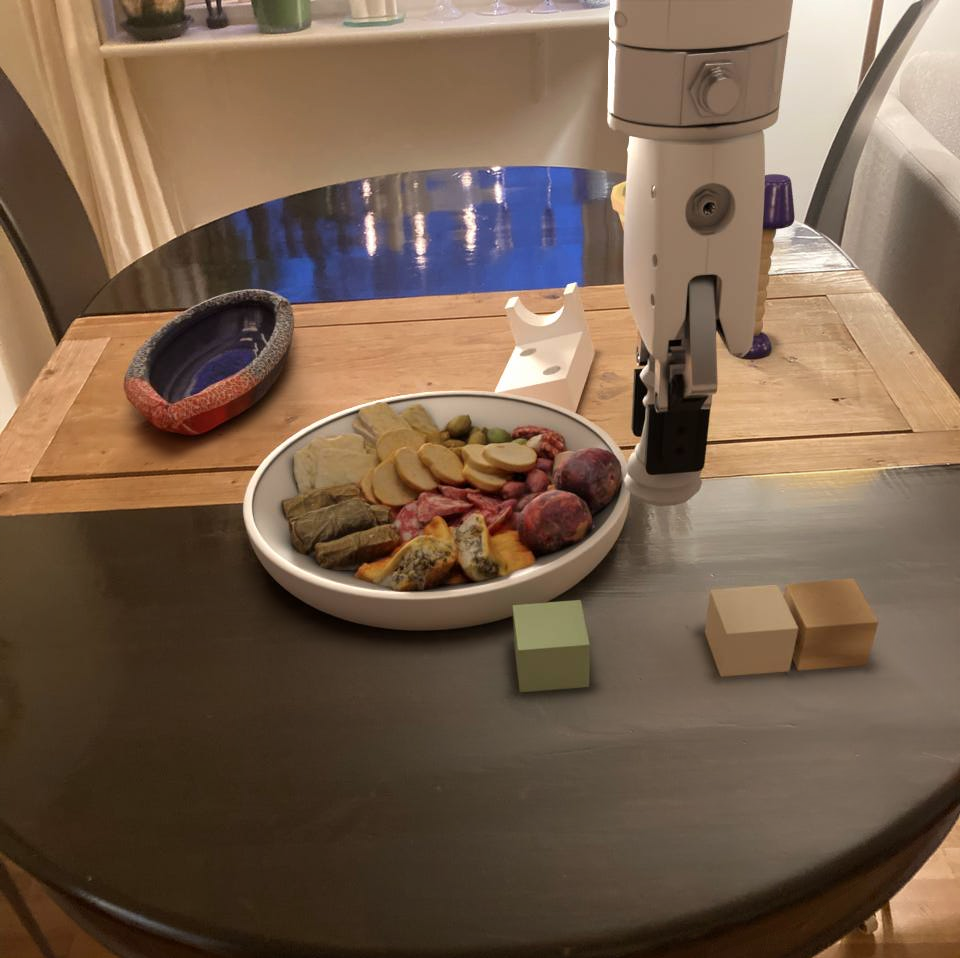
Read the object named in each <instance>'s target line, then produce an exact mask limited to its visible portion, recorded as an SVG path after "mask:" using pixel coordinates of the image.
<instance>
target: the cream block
mask: <svg viewBox="0 0 960 958" xmlns="http://www.w3.org/2000/svg"><path fill="white" fill-rule="evenodd" d="M706 611H707V612H706V619H705V628H704V634H705V637H706V640H707V642H708V645H709V649H710V650H711V651H710V652H711V654H712V657H713V660H714V662H715V665H716V668H717V670H718V673H719V676H720V677H731V676H745V675H757V674H758V675H759V674H771V673H782V672H790V670H791V666H792V661H793V659H792V656H793V651H794V646H795V642H796V637H797V632H798V627H797V624H796V622H795V620H794V618H793V616H792V614H791V612H790V610H789V607H788V605H787V603H786V601H785V599H784V594H783V593H782V590H781V588H780V586H779V585H778V584H769V585H768V584H767V585H757V586H756V585H755V586H742V587H731V588H729V587H728V588H717V589H716V588H715V589H710V590H709V595H708V603H707V610H706Z"/></svg>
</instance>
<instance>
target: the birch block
mask: <svg viewBox="0 0 960 958" xmlns="http://www.w3.org/2000/svg"><path fill="white" fill-rule="evenodd" d="M783 597H784V599H785V601H786V603H787V605H788V607H789V610H790V612H791V614H792V616H793V618H794V620H795V622H796V624H797V627H798V632H797V637H796V642H795V646H794V651H793V656H792V661H793V663H794V666H795V668H796V670H797V671H809V670H820V669H833V668H846V667H847V668H848V667H860V666H867V665H868V663H869V662H868V661H869V657H870V654H871V650H872V647H873V644H874V643H873V642H874V640H875V636H876V632H877V628H878V626H879V620H878V619H877V616H876V615H875V613H874V611H873V609H872V608H871V606H870V604H869V602H868V601H867V599H866V597H865V596H864V594H863V592H862V590H861V589H860V587H859V585H858V584H857V582H856V580H855V579H854V578H845V579H833V580H821V581H819V580H818V581H807V582H793V583H792V582H791V583H786V584H785V587H784V594H783Z"/></svg>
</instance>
